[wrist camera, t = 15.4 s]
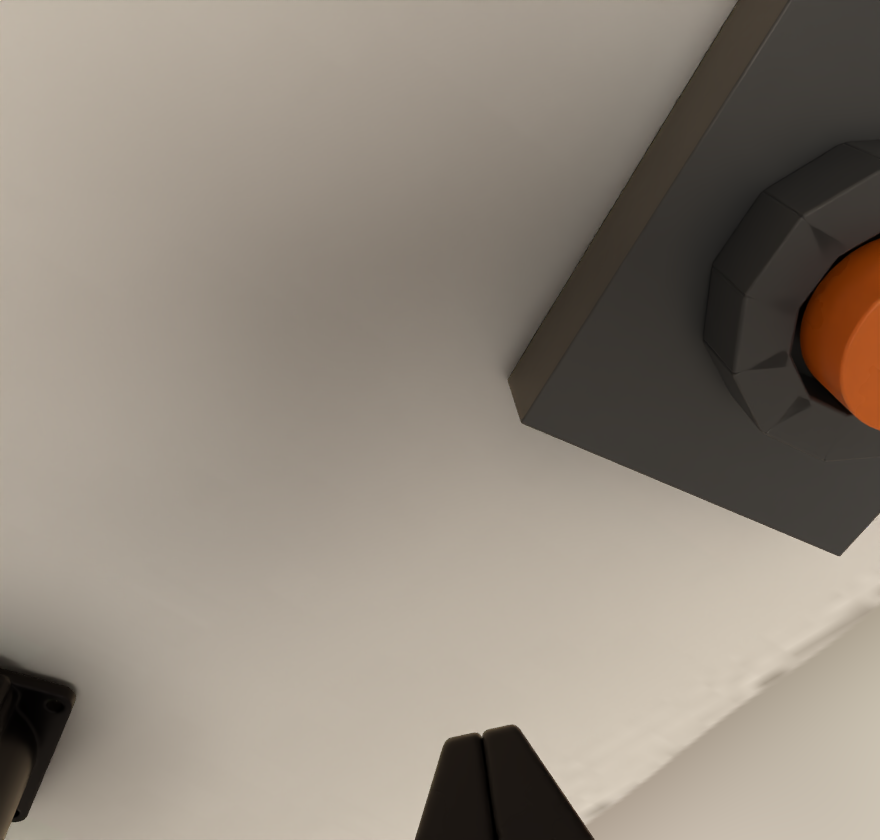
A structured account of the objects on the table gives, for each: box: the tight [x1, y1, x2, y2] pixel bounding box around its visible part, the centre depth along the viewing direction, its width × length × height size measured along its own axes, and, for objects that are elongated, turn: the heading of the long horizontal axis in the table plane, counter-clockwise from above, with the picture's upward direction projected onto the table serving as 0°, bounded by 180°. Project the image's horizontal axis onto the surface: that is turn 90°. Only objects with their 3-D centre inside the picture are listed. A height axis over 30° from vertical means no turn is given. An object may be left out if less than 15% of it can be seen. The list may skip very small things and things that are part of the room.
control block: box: [508, 0, 880, 556], centre depth 18 cm, size 12×10×4 cm
